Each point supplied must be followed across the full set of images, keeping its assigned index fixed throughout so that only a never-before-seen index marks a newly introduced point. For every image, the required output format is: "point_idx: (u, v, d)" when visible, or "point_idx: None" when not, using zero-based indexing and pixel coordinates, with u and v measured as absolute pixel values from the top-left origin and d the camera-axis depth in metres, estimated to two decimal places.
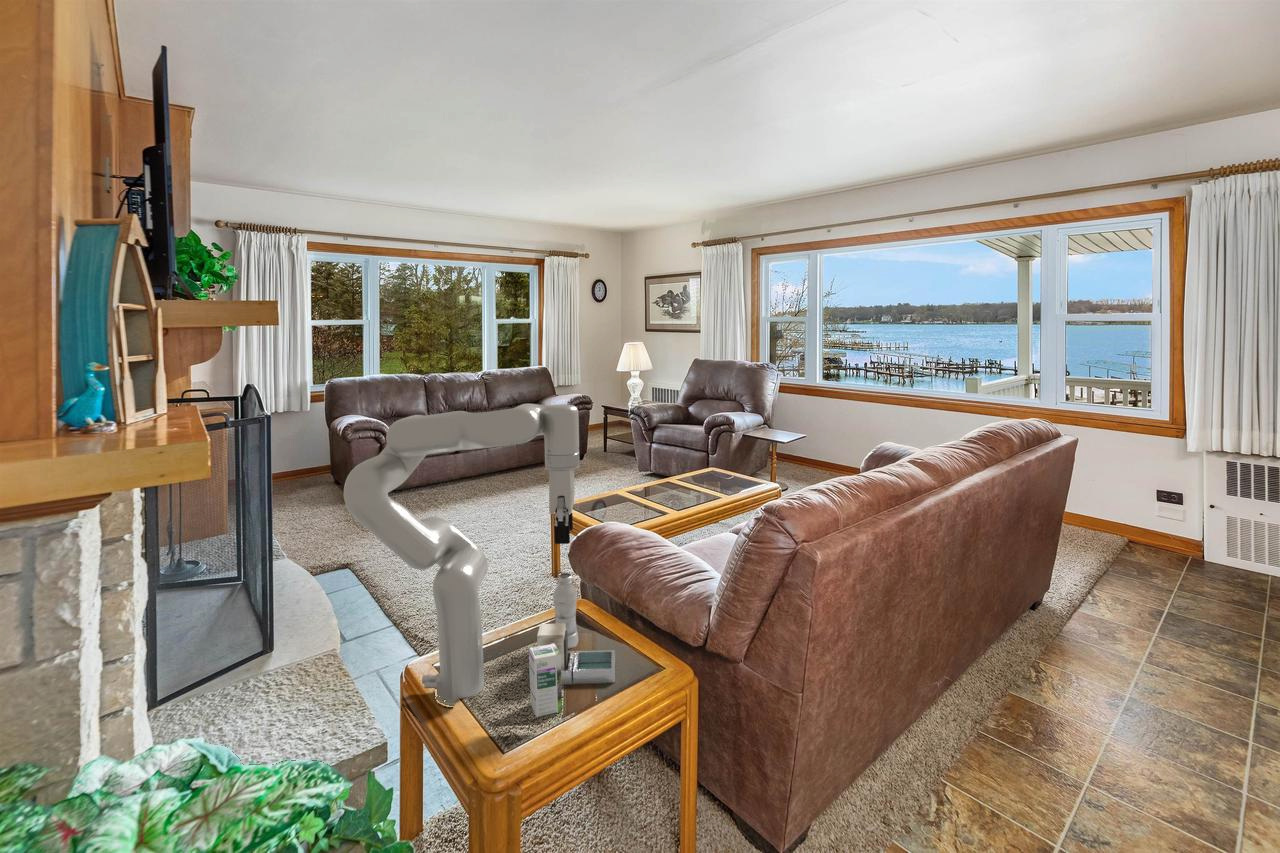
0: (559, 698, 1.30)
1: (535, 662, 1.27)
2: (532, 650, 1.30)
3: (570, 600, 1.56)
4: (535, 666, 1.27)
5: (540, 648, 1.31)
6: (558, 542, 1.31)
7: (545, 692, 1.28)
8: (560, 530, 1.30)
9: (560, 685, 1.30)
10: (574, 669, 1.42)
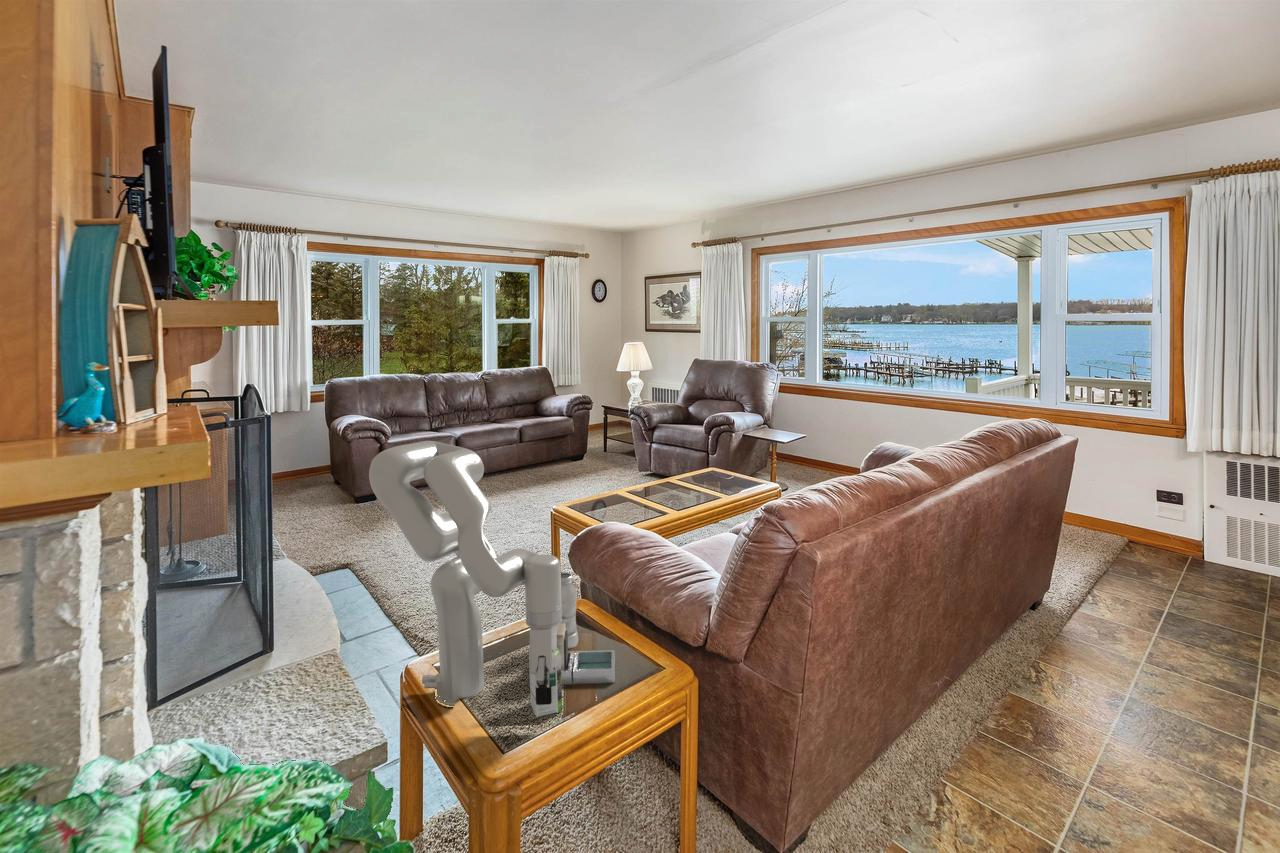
0: (559, 698, 1.30)
1: None
2: None
3: (570, 600, 1.56)
4: None
5: None
6: (539, 703, 1.27)
7: None
8: (541, 692, 1.26)
9: (560, 685, 1.29)
10: (574, 669, 1.42)
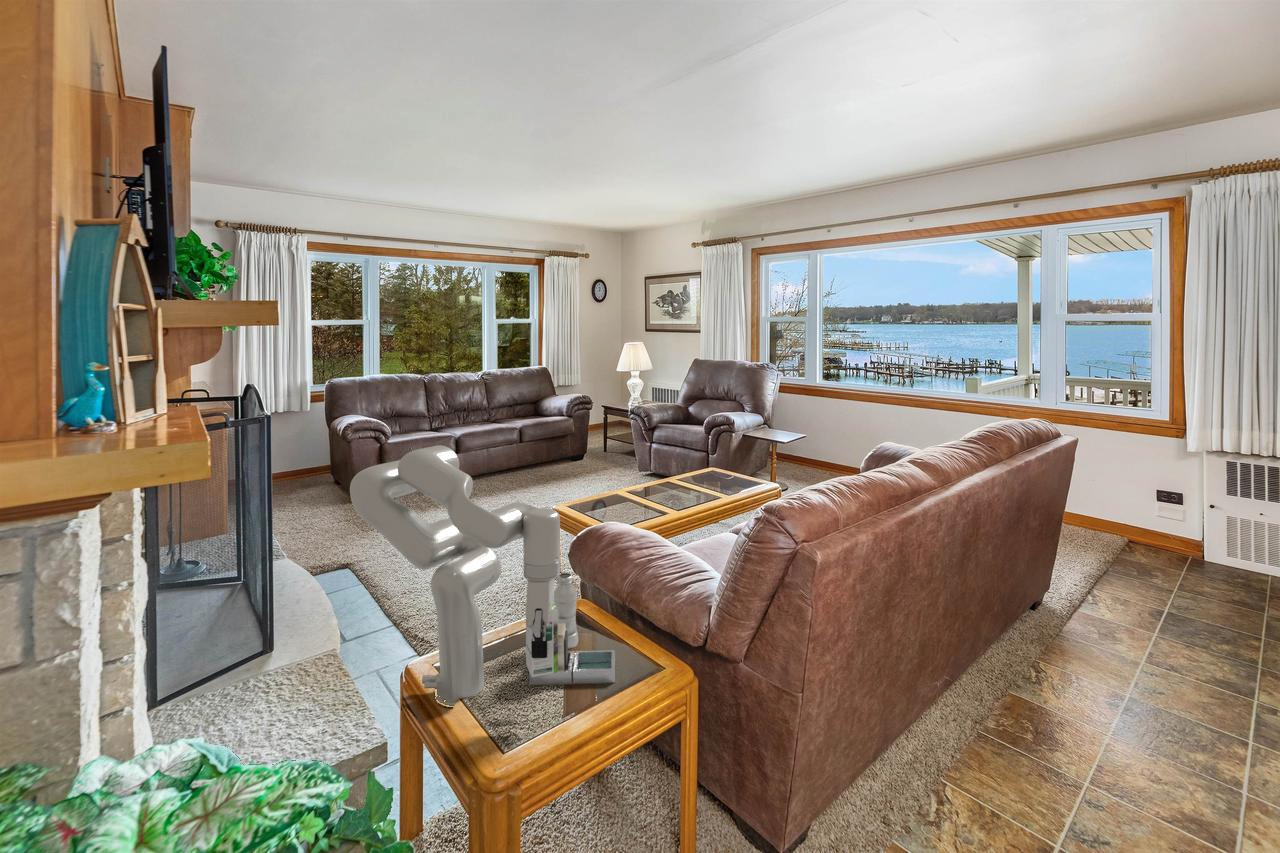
0: (555, 653, 1.29)
1: None
2: None
3: (570, 600, 1.56)
4: None
5: None
6: (535, 656, 1.26)
7: None
8: (537, 645, 1.25)
9: (556, 640, 1.29)
10: (574, 669, 1.42)
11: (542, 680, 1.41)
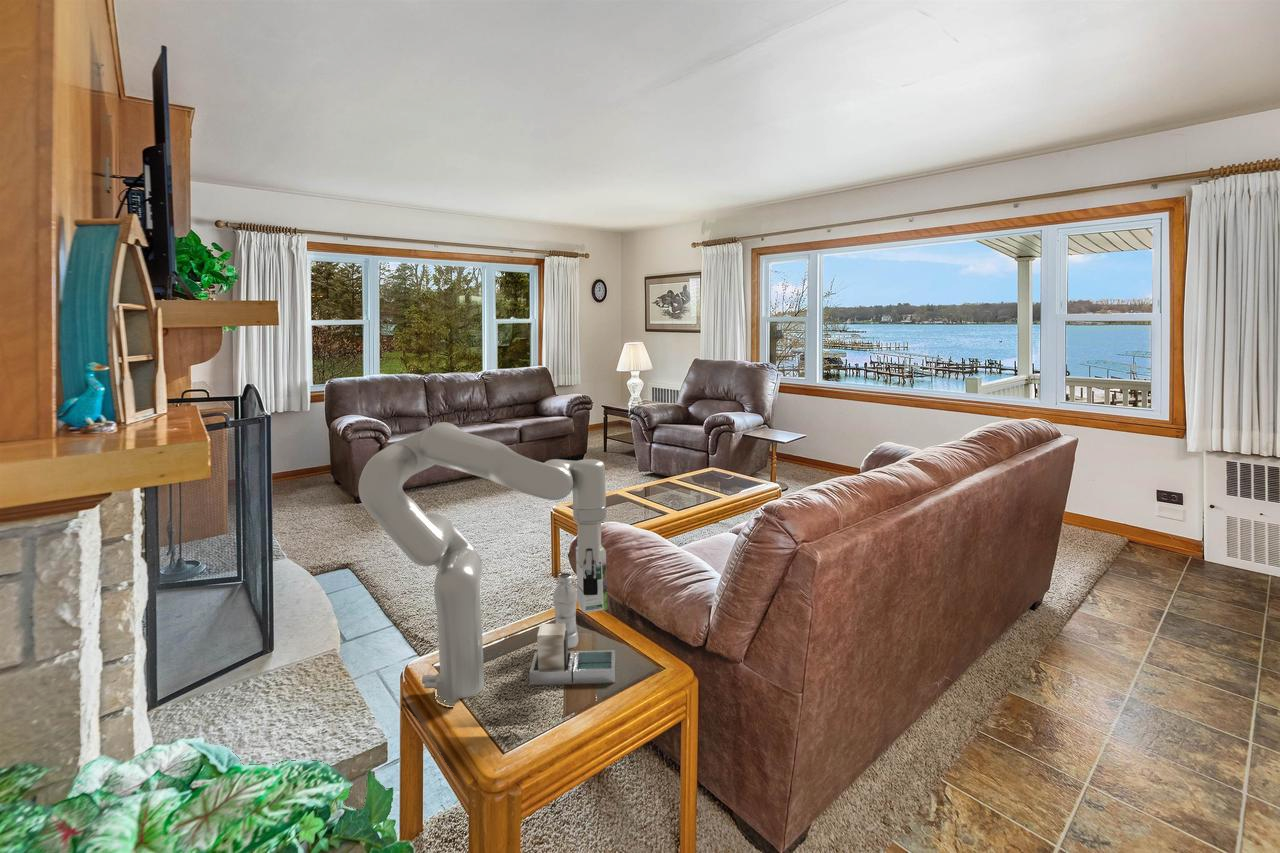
0: (604, 590, 1.41)
1: None
2: None
3: (570, 600, 1.56)
4: None
5: None
6: (587, 593, 1.39)
7: None
8: (588, 582, 1.38)
9: (605, 579, 1.41)
10: (574, 669, 1.42)
11: (542, 680, 1.41)
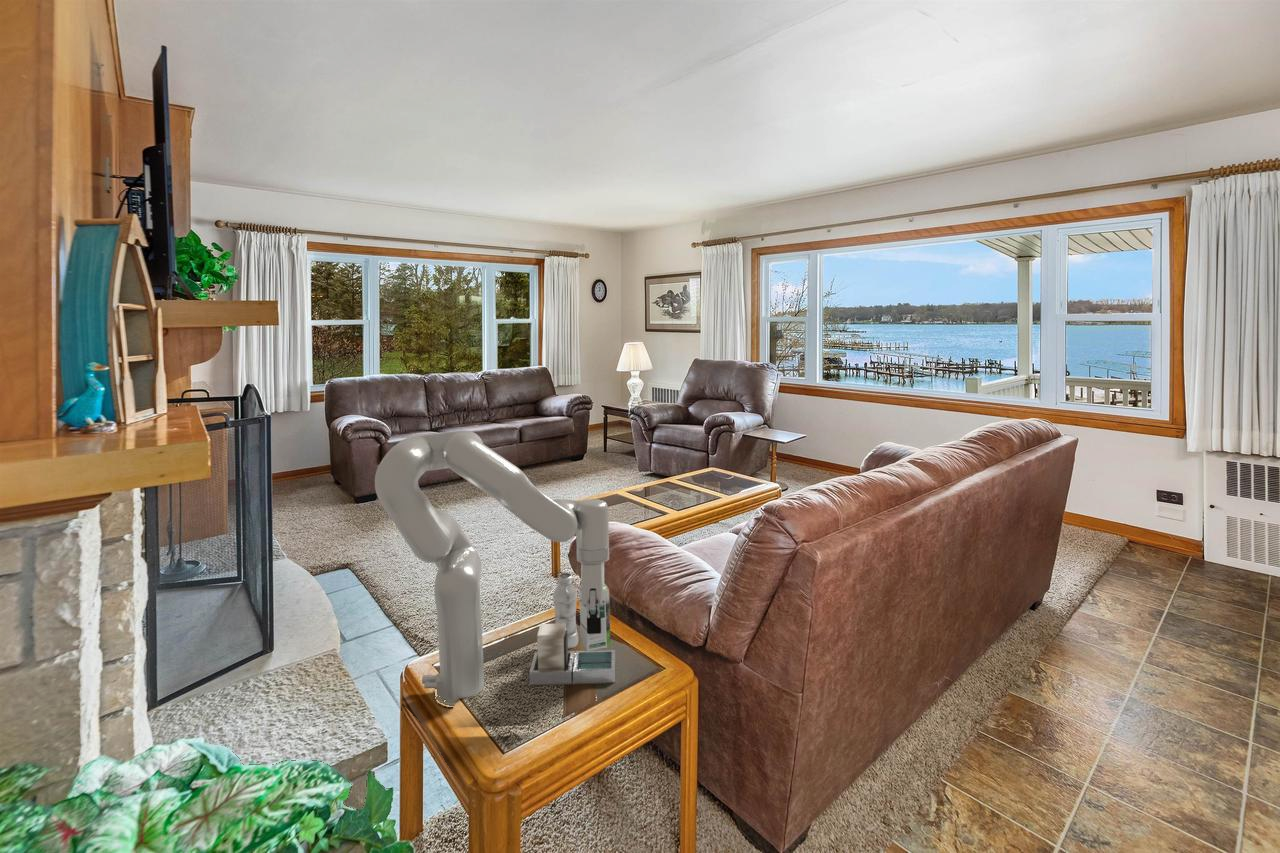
0: (607, 628, 1.43)
1: None
2: None
3: (570, 600, 1.56)
4: None
5: None
6: (590, 632, 1.41)
7: None
8: (592, 622, 1.40)
9: (608, 617, 1.43)
10: (574, 669, 1.42)
11: (542, 680, 1.41)
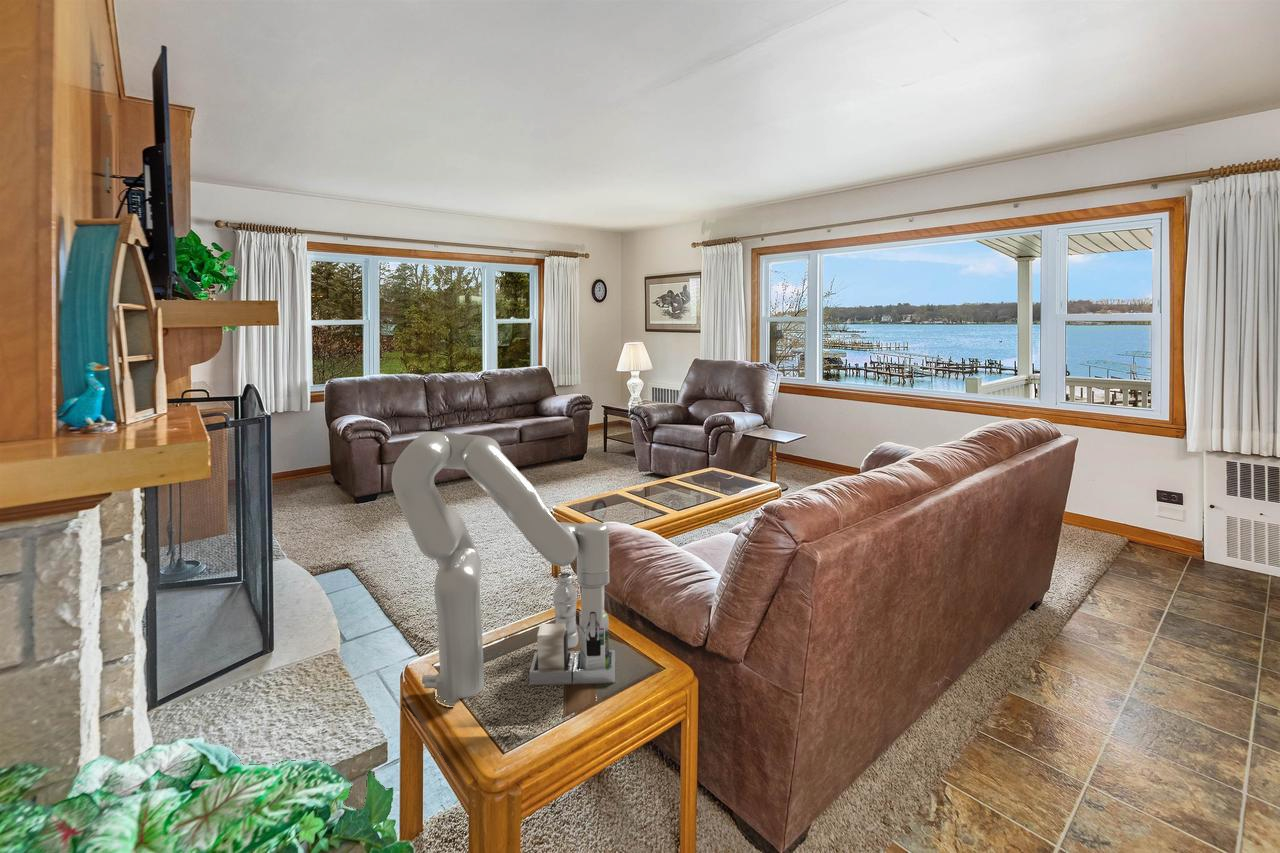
0: (606, 656, 1.44)
1: None
2: None
3: (570, 600, 1.56)
4: None
5: None
6: (590, 654, 1.40)
7: None
8: (591, 644, 1.39)
9: (607, 644, 1.44)
10: (574, 669, 1.42)
11: (542, 680, 1.41)
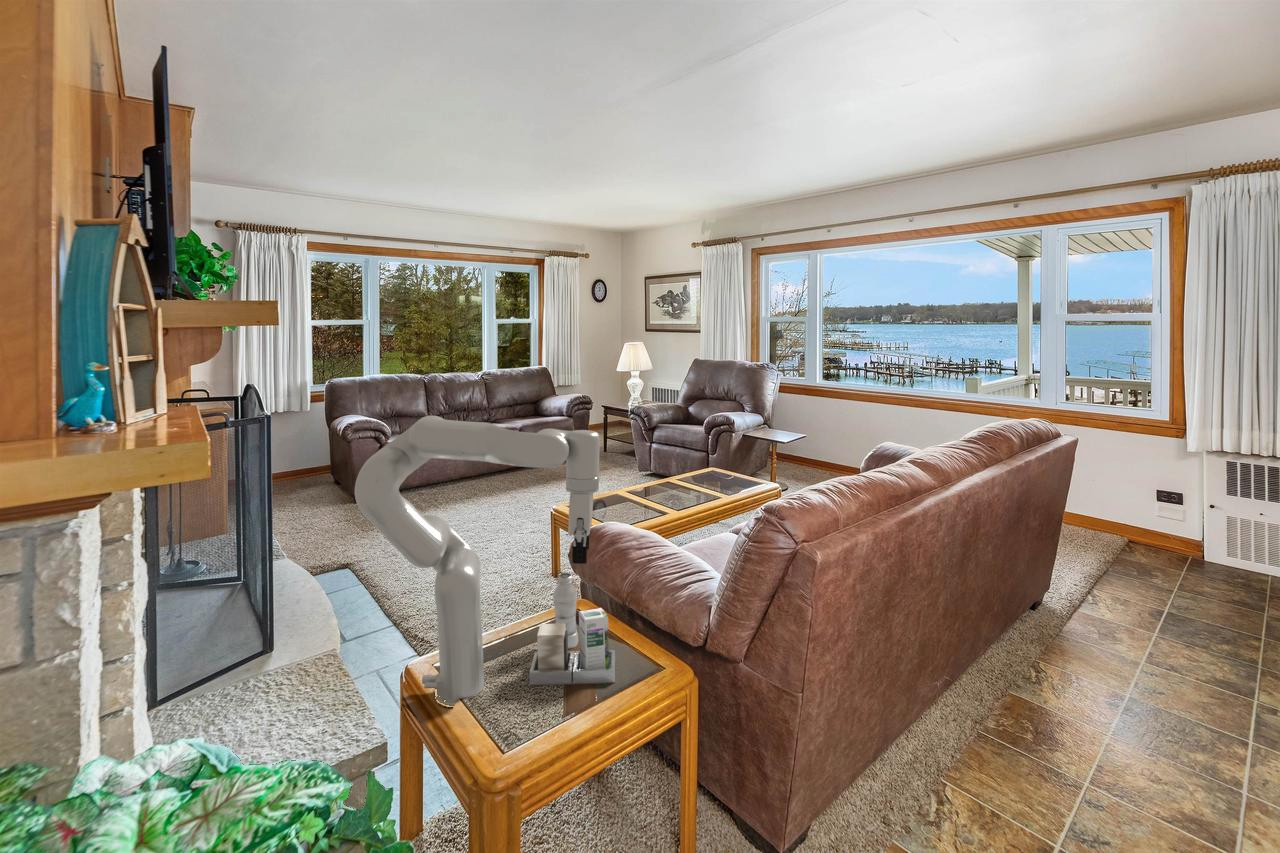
0: (606, 656, 1.44)
1: (585, 623, 1.41)
2: (582, 613, 1.45)
3: (570, 600, 1.56)
4: (585, 626, 1.42)
5: (589, 611, 1.46)
6: (575, 562, 1.38)
7: (594, 650, 1.43)
8: (578, 551, 1.37)
9: (607, 644, 1.44)
10: (574, 669, 1.42)
11: (542, 680, 1.41)
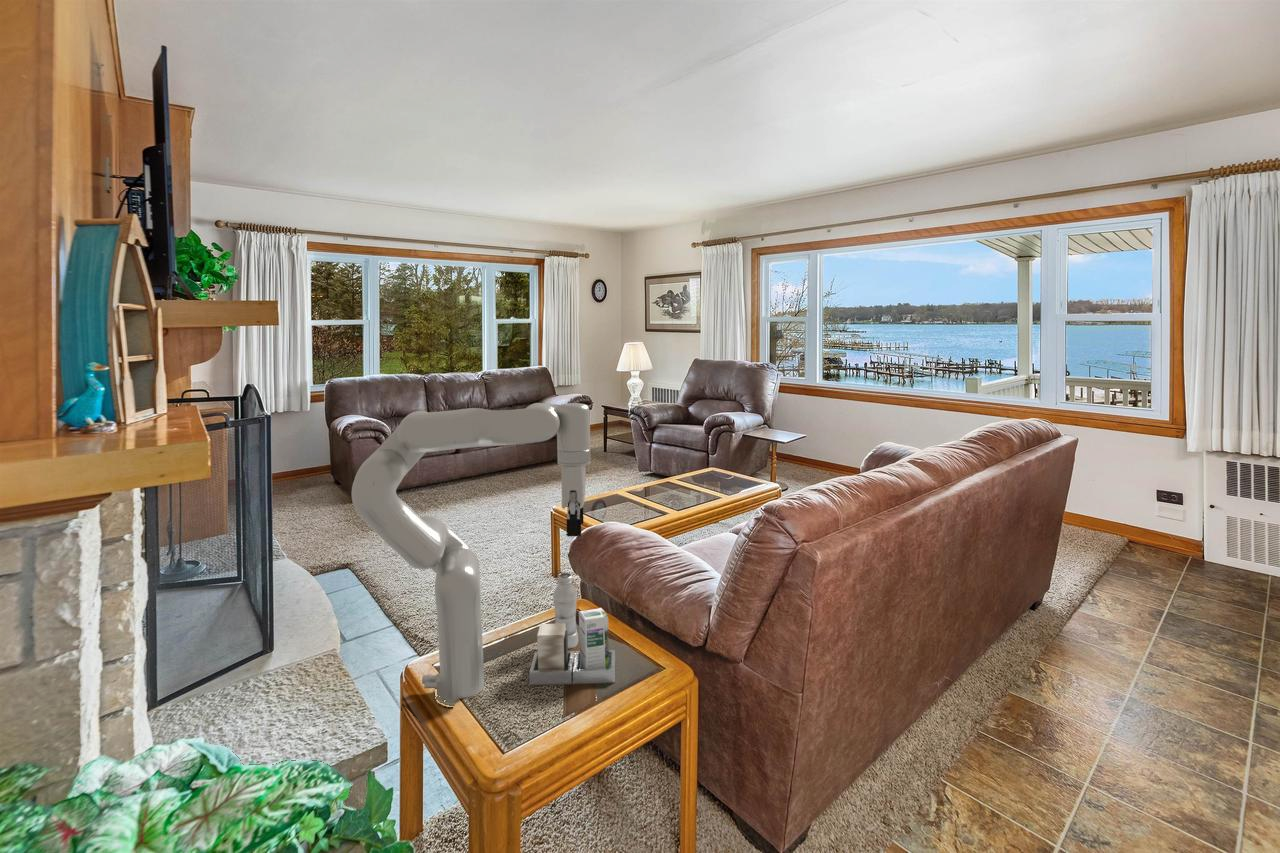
0: (606, 656, 1.44)
1: (585, 623, 1.41)
2: (582, 613, 1.45)
3: (570, 600, 1.56)
4: (585, 626, 1.42)
5: (589, 611, 1.46)
6: (570, 534, 1.38)
7: (594, 650, 1.43)
8: (572, 523, 1.37)
9: (607, 644, 1.44)
10: (574, 669, 1.42)
11: (542, 680, 1.41)
